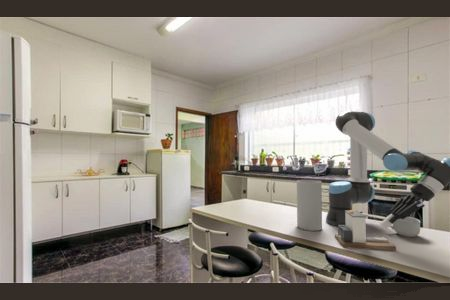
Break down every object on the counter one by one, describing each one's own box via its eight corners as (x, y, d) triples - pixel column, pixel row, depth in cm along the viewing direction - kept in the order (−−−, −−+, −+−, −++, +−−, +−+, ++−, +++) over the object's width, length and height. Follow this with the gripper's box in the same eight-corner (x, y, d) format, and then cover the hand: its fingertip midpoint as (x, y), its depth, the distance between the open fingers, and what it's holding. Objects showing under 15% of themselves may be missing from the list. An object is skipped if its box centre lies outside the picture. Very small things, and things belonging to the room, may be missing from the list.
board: (334, 237, 106) (334, 233, 106) (381, 239, 103) (381, 236, 103) (343, 247, 94) (343, 243, 95) (396, 250, 91) (396, 246, 91)
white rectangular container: (345, 235, 104) (345, 208, 105) (357, 235, 103) (357, 208, 104) (353, 242, 95) (352, 213, 95) (366, 243, 94) (365, 213, 95)
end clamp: (338, 235, 104) (337, 224, 104) (345, 235, 104) (344, 225, 104) (344, 241, 96) (343, 230, 96) (351, 242, 96) (351, 230, 96)
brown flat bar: (338, 237, 102) (338, 235, 102) (385, 240, 98) (384, 237, 98) (340, 239, 99) (340, 237, 99) (388, 242, 95) (388, 240, 96)
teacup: (421, 234, 109) (420, 218, 110) (420, 240, 101) (420, 223, 102) (386, 228, 119) (386, 213, 119) (383, 233, 111) (383, 217, 111)
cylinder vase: (300, 222, 129) (299, 179, 130) (323, 226, 123) (322, 180, 124) (294, 228, 119) (294, 181, 119) (320, 232, 112) (319, 182, 113)
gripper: (445, 198, 87) (398, 238, 90) (423, 192, 100) (382, 228, 103) (429, 184, 89) (383, 224, 91) (409, 180, 101) (369, 216, 104)
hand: (382, 226), depth 97 cm, fingers closed
